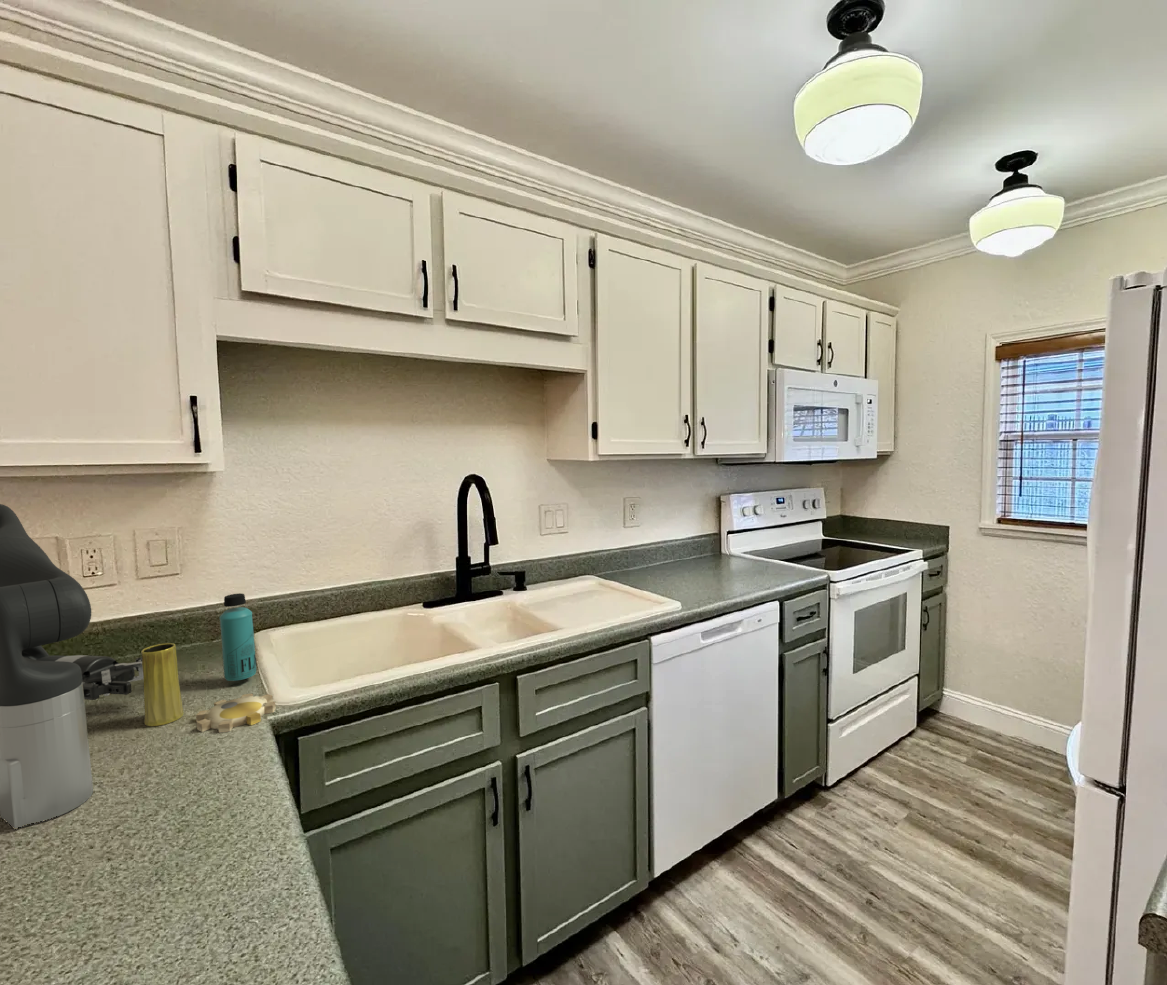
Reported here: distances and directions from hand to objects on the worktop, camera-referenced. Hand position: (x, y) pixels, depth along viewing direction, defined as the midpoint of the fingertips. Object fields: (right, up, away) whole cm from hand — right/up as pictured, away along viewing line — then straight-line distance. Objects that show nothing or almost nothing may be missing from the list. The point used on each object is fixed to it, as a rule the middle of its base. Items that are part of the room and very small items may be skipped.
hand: (151, 678), depth 107 cm
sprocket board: (+16, -8, +1) cm, 18 cm away
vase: (+2, -8, 0) cm, 8 cm away
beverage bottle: (+7, -7, +17) cm, 20 cm away
